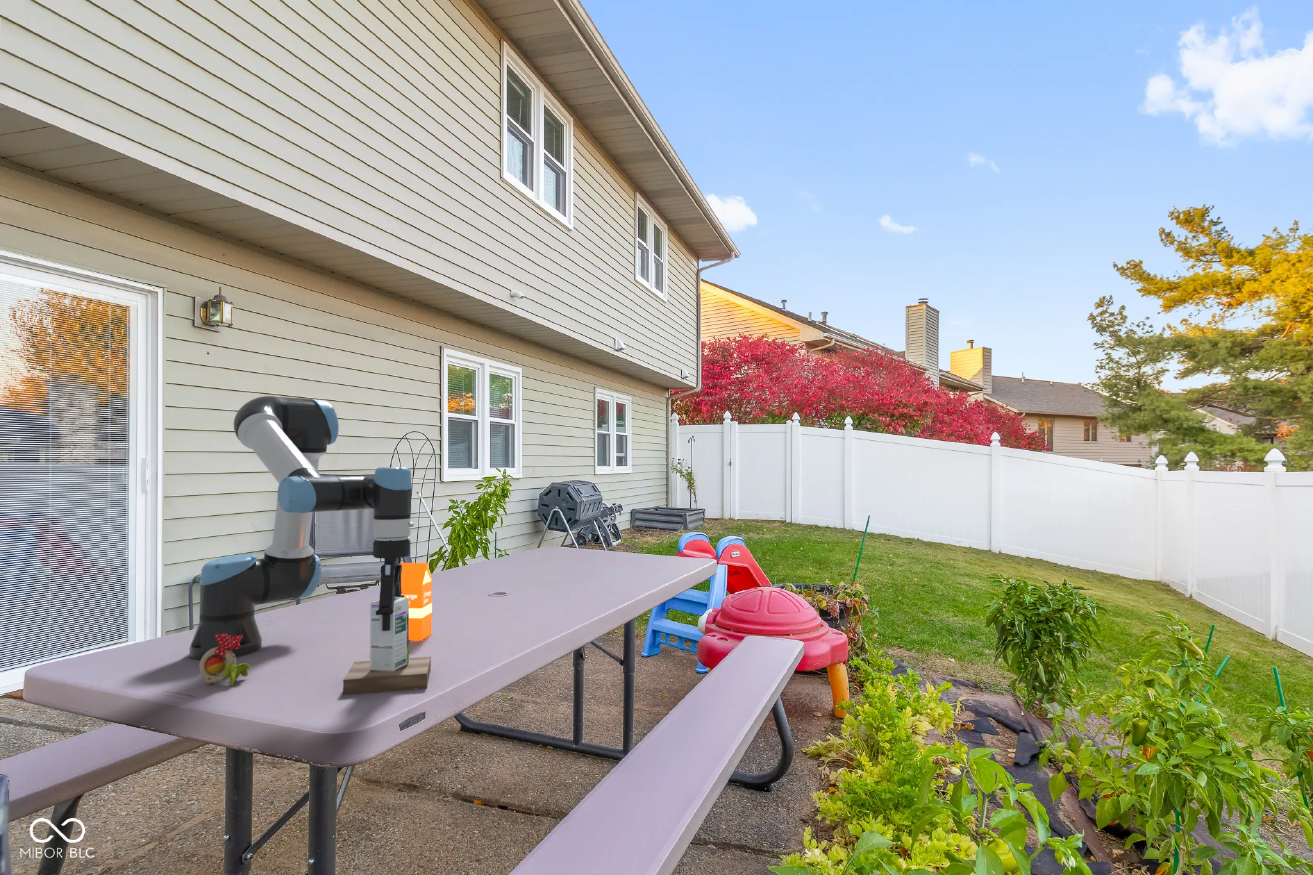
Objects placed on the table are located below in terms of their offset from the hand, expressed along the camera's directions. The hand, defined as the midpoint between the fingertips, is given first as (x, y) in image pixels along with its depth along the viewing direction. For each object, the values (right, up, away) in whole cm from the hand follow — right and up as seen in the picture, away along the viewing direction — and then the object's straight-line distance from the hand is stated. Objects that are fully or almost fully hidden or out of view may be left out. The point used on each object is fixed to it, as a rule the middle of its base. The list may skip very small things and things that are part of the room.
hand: (390, 638), depth 143 cm
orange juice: (-9, -11, +37) cm, 40 cm away
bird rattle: (-35, -9, -2) cm, 36 cm away
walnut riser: (0, -9, 0) cm, 9 cm away
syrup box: (0, -6, 0) cm, 6 cm away
